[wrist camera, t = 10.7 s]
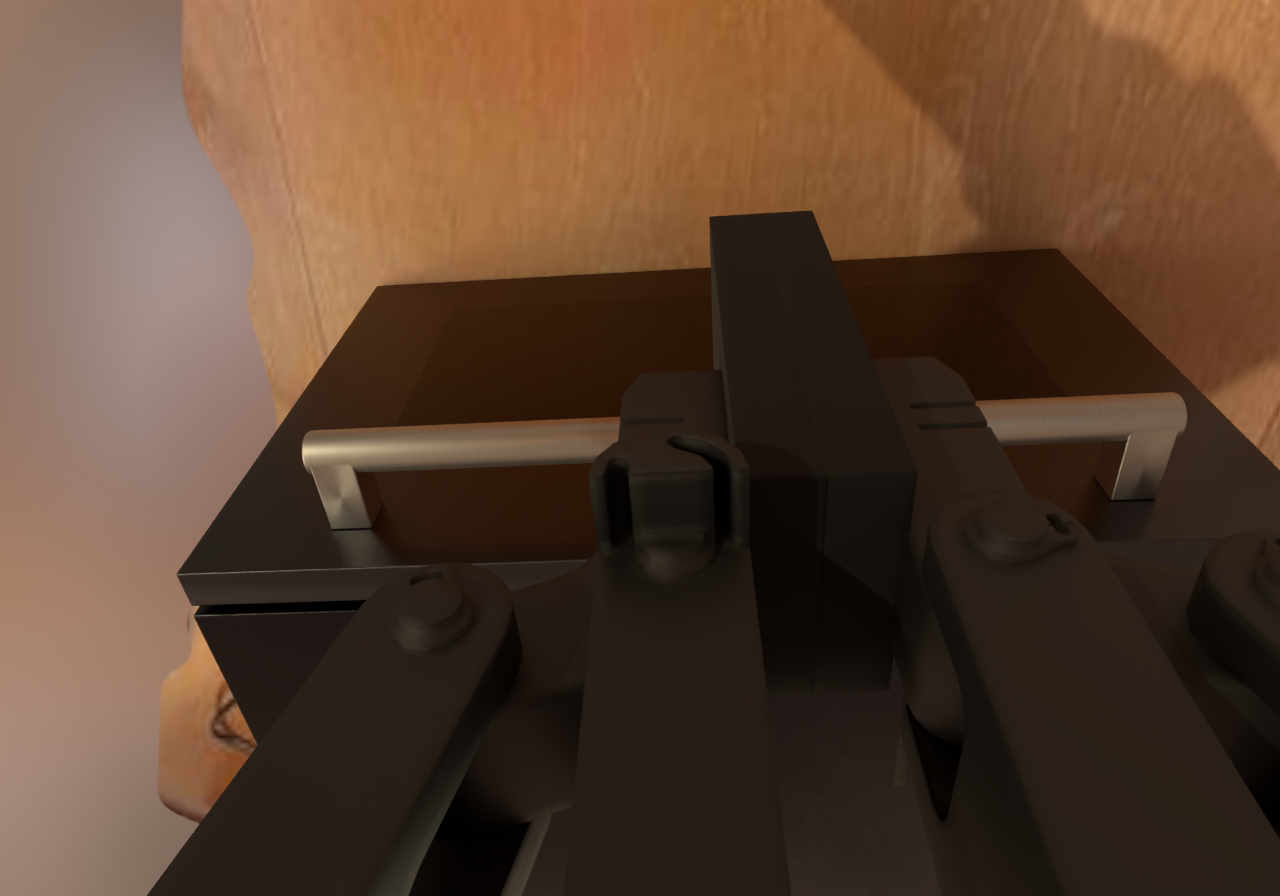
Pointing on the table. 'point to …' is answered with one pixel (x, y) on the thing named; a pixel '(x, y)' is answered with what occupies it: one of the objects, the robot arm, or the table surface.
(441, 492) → the oven door
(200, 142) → the table surface
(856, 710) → the oven
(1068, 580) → the robot arm
